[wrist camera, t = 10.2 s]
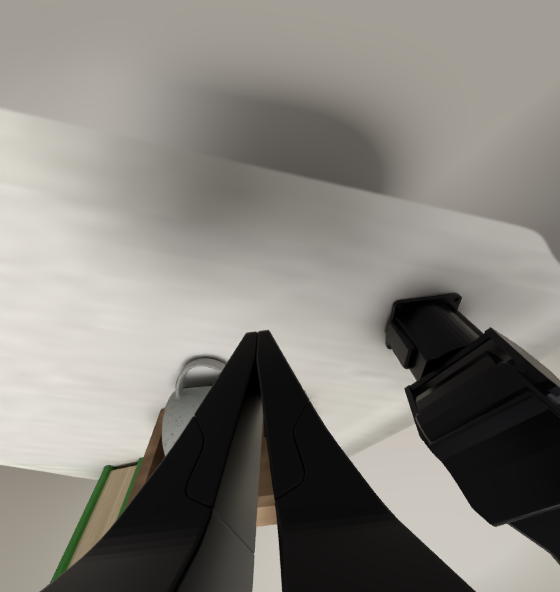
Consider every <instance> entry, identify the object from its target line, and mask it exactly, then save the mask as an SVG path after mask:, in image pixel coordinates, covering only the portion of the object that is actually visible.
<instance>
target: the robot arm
mask: <svg viewBox="0 0 560 592" xmlns="http://www.w3.org/2000/svg"><path fill="white" fill-rule="evenodd" d="M461 299H462V297H461V296H460V295H459V294H457V293H454V294H446V295H439V296H431V297H423V298H416V299H408V300H401V301H397V302H395V303H394V305H393V309H392V314H391V320H390V321H389V324H388V329H387V334H386V346H387V348H388V349H392V350H393V351H394V353H395V355H396V356H397V358H398V360H399V361H400V363H401V365H402V366H403V367H404V368H405V369H410V371H411V372H412V374H413V376H414V377H415V379H416V380H417V381H416V382H415V383H413V384H412V385H408V386H407V387H406V388H404V389H405V392H406V395H407V399H408V402H409V405H410V408H411V411H412V414H413V417H414V421H415V424H416V427H417V429H418V432H419V436H420V437H421V439H422V440H423V441H424V442H425V444H426V445H427V447H428V448H429V449H430V450H431V451H432V453H433V454H434V455H435V456H436V457H437V458H438V459H439V460H440V461H441V462H442V463H443V464H444V466H445V467H446V468H447V470H448V471H449V472H450V474H451V475H452V477H453V478H454V480H455V481H456V483H457V484H458V486H459V488H460V489H461V491H462V492H463V494H464V496H465V497H466V499H467V500H468V502H469V504H470V506H471V507H472V508H473V509H474V510H475V511H476V512H477V513H478V514H479V515H480V516H482V517H483V518H484V519H485V520H486V521H487V522H488V523H489V524H491V525H492V526H494V527H497V526H500V525H504V524H508V525H510V526H511V527H513V528H514V529H516V530H517V531H519V532H520V533H521V534H523V535H524V536H526V537H527V538H529V539H530V540H531V541H533V542H535V543H536V544H537V545H539V546H540V547H542V548H543V549H544V550H546V551H547V552H548V553H550V554H551V555H552V557H553V558H554V559H555V560H556V561H557V562H558V563H559V565H560V380H559V379H558V378H557V377H556V376H555V375H554V374H553V373H552V372H551V371H550V370H548V369H547V368H546V367H545V366H543V365H542V364H541V363H540V362H539V361H537V360H536V359H535V358H534V357H532V356H531V355H530V354H529V353H527V352H526V351H525V350H524V349H522V348H521V347H520V346H518V345H517V344H515V343H514V342H512V341H511V340H509V339H508V338H506V337H505V336H503V335H502V334H500V333H499V332H497V331H496V330H494V329H493V328H491V327H490V328H489V329H487V330H486V331H485V333H484V334H483V333H482V332H481V331H480V330H479V329H478V328H477V327H476V326H475V325H473V324H472V323H471V322H470V321H469V320H468V319H467V318H466V317H464V316H463V315H462V314H461V313H460V312H459V311H458V310H457V309H458V307H459V304H460V302H461ZM399 305H400V306H399ZM398 306H399V307H398ZM263 417H264V425H265V433H266V440H267V448H268V456H269V463H270V471H271V479H272V486H273V494H274V500H275V510H276V518H277V526H278V537H279V550H280V565H281V581H282V592H476V591H474V590H473V589H472V588H471V587H470V586H469V585H468V584H467V583H466V582H465V581H464V580H463V579H462V578H460V577H459V576H458V575H457V574H456V573H455V572H454V571H453V570H452V569H451V568H450V567H449V566H448V565H446V564H445V563H444V562H443V561H442V560H441V559H440V558H439V557H438V556H437V555H436V554H435V553H434V552H432V551H431V550H430V549H429V548H428V547H427V546H426V545H425V544H424V543H423V542H422V541H421V540H420V539H419V538H417V537H416V536H415V535H414V534H413V533H412V532H411V531H410V530H409V529H408V528H407V527H406V526H405V525H403V524H402V523H401V522H400V521H399V520H398V519H397V518H396V517H395V515H394V514H393V513H392V512H391V511H390V510H389V509H388V508H387V507H386V505H385V504H384V503H383V502H382V501H381V499H380V498H379V497H378V496H377V495H376V493H375V492H374V491H373V490H372V488H371V487H370V486H369V484H368V483H367V482H366V480H365V479H364V478H363V477H362V475H361V474H360V472H359V471H358V470H357V468H356V467H355V466H354V465H353V463H352V462H351V461H350V459H349V458H348V457H347V455H346V454H345V453H344V451H343V450H342V449H341V447H340V446H339V445H338V443H337V442H336V441H335V439H334V438H333V436H332V435H331V434H330V432H329V431H328V429H327V428H326V426H325V425H324V423H323V422H322V420H321V418H320V417H319V415H318V414H317V412H316V410H315V408H314V407H313V405H312V403H311V402H310V401H309V398H308V397H307V395H306V393H305V391H304V390H303V388H302V386H301V384H300V383H299V381H298V379H297V378H296V376H295V374H294V372H293V371H292V369H291V367H290V365H289V364H288V362H287V360H286V358H285V357H284V355H283V353H282V352H281V350H280V348H279V346H278V345H277V343H276V341H275V339H274V338H273V336H272V334H271V332H270V331H269V330H264V331H259V332H249V333H246V334H245V336H244V337H243V339H242V340H241V342H240V343H239V345H238V347H237V348H236V350H235V351H234V353H233V354H232V356H231V357H230V359H229V361H228V362H227V364H226V365H225V367H224V368H223V370H222V371H221V373H220V375H219V376H218V378H217V379H216V381H215V382H214V384H213V386H212V387H211V389H210V390H209V392H208V393H207V395H206V396H205V398H204V400H203V401H202V403H201V404H200V406H199V407H198V409H197V410H196V412H195V414H194V416H193V417H192V418H191V420H190V421H189V423H188V424H187V426H186V427H185V429H184V430H183V432H182V433H181V435H180V436H179V438H178V439H177V441H176V442H175V444H174V445H173V447H172V448H171V449H170V451H169V452H168V453H167V455H166V456H165V457H164V459H163V460H162V461H161V463H160V464H159V466H158V467H157V468H156V469H155V471H154V472H153V473H152V475H151V476H150V477H149V479H148V480H147V481H146V482H145V484H144V485H143V486H142V488H141V489H140V490H139V492H138V493H137V494H136V495H135V497H134V498H133V499H132V501H131V502H130V503H129V505H128V506H127V507H126V508H125V510H124V511H123V512H122V514H121V515H120V516H119V518H118V519H117V520H116V521H115V523H114V524H113V525H112V526H111V527H110V529H109V530H108V531H107V532H106V533H105V534H104V536H103V537H102V538H101V539H100V540H99V541H98V542H97V543H96V544H95V545H94V546H93V547H92V548H91V549H90V550H89V551H88V552H87V553H86V554H85V555H84V556H83V557H82V558H80V559H79V560H78V561H77V562H76V563H75V564H73V565H72V566H71V567H70V568H68V569H67V570H66V571H65V572H63V573H62V574H61V575H60V576H59V577H57V578H56V579H55V580H54V581H52V582H51V583H50V584H49V585H47V586H46V587H45V588H44V589H43V590H41V591H40V592H252V587H253V571H254V570H253V569H254V552H255V537H256V521H257V505H258V489H259V473H260V456H261V440H262V424H263Z"/></svg>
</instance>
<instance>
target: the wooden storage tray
mask: <svg viewBox="0 0 560 592" xmlns="http://www.w3.org/2000/svg"><path fill="white" fill-rule="evenodd" d="M164 412H165V409H161V411H160V414H159V417H158V419H157V422H156V425H155V428H154V430H153V433H152V436H151V438H150V441H149V444H148V447H147V449H146V452H145V455H144V458H143V460H142V463H141V466H140V469H139V471H138V474H137V477H136V479H135V482H134V485H133V488H132V490H131V493H130V496H129V499H128V501H127V504H126V507H127V506H128V505H129V503H130V502H131V501H132V499H133V498H134V497H135V495H136V494H137V493H138V492H139V490H140V489H141V488H142V486H143V485H144V484H145V482H146V481H147V480H148V479H149V477H150V476H151V475H152V473H153V472H154V471H155V469H156V468H157V467H158V466H159V464H160V463H161V461H162V460H163V459H164V457H165V454H164V450H163V444H162V423H163V416H164ZM126 507H125V508H126ZM274 524H277V518H276V510H275V500H274V494H273V486H272V479H271V471H270V463H269V456H268V448H267V440H266V433H265V425H264V417H263V424H262V440H261V456H260V473H259V489H258V505H257V521H256V527H257V526H266V525H274Z"/></svg>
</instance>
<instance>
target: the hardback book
mask: <svg viewBox="0 0 560 592" xmlns="http://www.w3.org/2000/svg"><path fill="white" fill-rule="evenodd" d="M143 458H144V457H143ZM143 458H140V459H139V461H138V464H137V465H136V466H131V467H127V468H122V469H117V468H115V467H113V466H111V465H107V466H105V468H104V470H103V472H102V474H101V476H100V478H99V480H98V483H97V485H96V487H95V489H94V491H93V493H92V495H91V498H90V499H89V502H88V504H87V506H86V508H85V510H84V512H83V515H82V516H81V519H80V521H79V523H78V525H77V527H76V529H75V531H74V534H73V535H72V538H71V540H70V542H69V544H68V546H67V548H66V550H65V553H64V555H63V557H62V559H61V561H60V563H59V565H58V567H57V569H56V572H55V574H54V576H53V578H52V580H51V582H52V581H54V580H55V579H56V578H57V577H59V576H60V575H61V574H62V573H63V572H65V571H66V570H67V569H68V568H70V567H71V566H72V565H73V564H75V563H76V562H77V561H78V560H79V559H80V558H82V557H83V556H84V555H85V554H86V553H87V552H88V551H89V550H90V549H91V548H92V547H93V546H94V545H95V544H96V543H97V542H98V541H99V540H100V539H101V538H102V537H103V536H104V534H105V533H106V532H107V531H108V530H109V529H110V527H111V526H112V525H113V524H114V523H115V521H116V520H117V519H118V518H119V516H120V515H121V514H122V512H123V511H124V510H125V507H126V504H127V501H128V499H129V496H130V493H131V490H132V488H133V485H134V482H135V479H136V477H137V474H138V471H139V469H140V466H141V463H142V460H143ZM51 582H50V583H51Z"/></svg>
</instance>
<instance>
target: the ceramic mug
mask: <svg viewBox="0 0 560 592" xmlns="http://www.w3.org/2000/svg"><path fill="white" fill-rule="evenodd" d="M196 366H206V367H209V368H213V369H215V370H217V371H219V372H220V373H221V371H222V370H223V368H224V367H225V365H224V364H222V363H221V362H219V361H217V360H214V359H210V358H201V359H196V360H193V361H191V362H190V363H188V364H187V365H186V366H185V367H184V369H183V370H182V372H181V373H180V375H179V377H178V379H177V383H176V391H175V392H173V394H172V395H171V396H170V398H169V400H168V402H167V405H166V407H165V412H164V416H163V423H162V444H163V450H164V454H165V456H166V455H167V453H168V452H169V451H170V449H171V448H172V447H173V445H174V444H175V442H176V441H177V439H178V438H179V436H180V435H181V433H182V432H183V430H184V429H185V427H186V426H187V424H188V423H189V421H190V420H191V418H192V417H193V416H194V414H195V412H196V410H197V409H198V407H199V406H200V404H201V403H202V401H203V400H204V398H205V396H206V395H207V393H208V392H209V390H210V389H211V387H212V386H203V387H193V388H184V389H183V378H184V375H185V374H186V373H187V372H188V371H189V370H190V369H191V368H193V367H196Z"/></svg>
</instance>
